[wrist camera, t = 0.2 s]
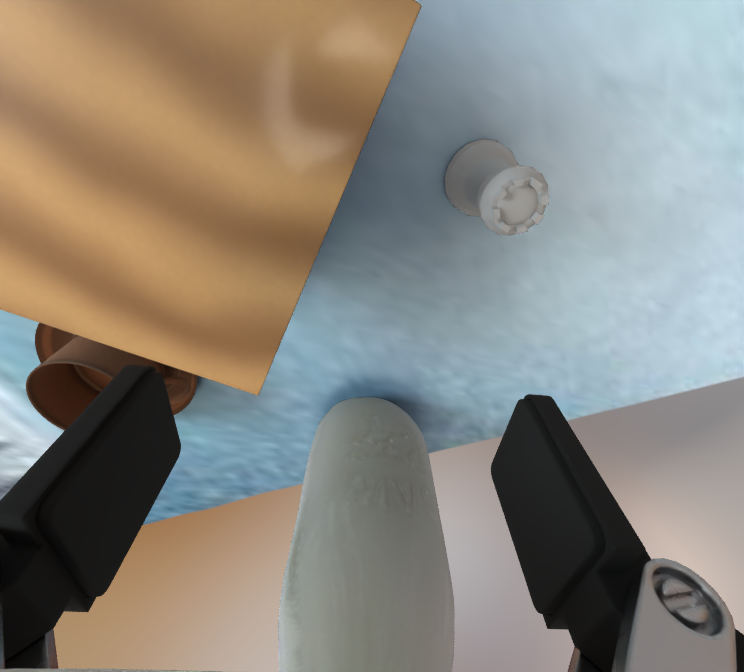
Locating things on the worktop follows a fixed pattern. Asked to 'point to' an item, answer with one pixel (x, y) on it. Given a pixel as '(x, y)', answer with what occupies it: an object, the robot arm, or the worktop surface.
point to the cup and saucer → (88, 375)
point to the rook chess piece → (496, 187)
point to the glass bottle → (367, 551)
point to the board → (181, 165)
